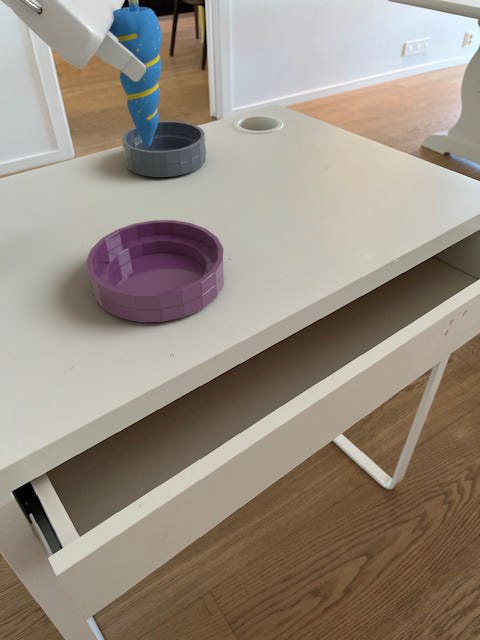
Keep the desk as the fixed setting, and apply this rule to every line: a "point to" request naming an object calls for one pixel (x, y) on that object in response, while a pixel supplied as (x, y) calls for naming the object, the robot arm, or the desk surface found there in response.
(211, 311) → the desk surface
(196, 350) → the desk surface
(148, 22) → the ornament
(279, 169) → the desk surface
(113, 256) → the plum bowl
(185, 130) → the grey bowl
